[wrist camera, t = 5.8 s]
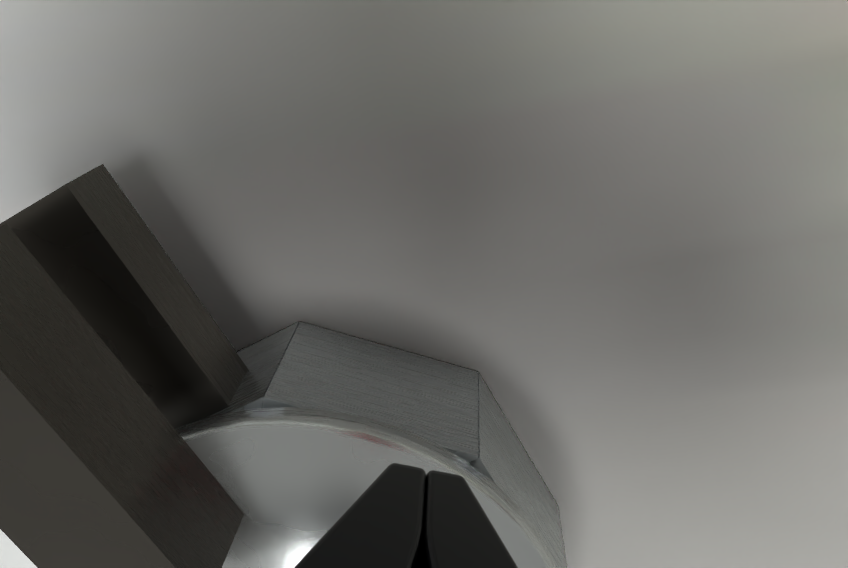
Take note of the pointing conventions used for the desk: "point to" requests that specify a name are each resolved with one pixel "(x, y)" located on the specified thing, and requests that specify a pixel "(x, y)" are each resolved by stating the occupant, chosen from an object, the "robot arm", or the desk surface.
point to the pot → (259, 348)
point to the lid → (178, 457)
